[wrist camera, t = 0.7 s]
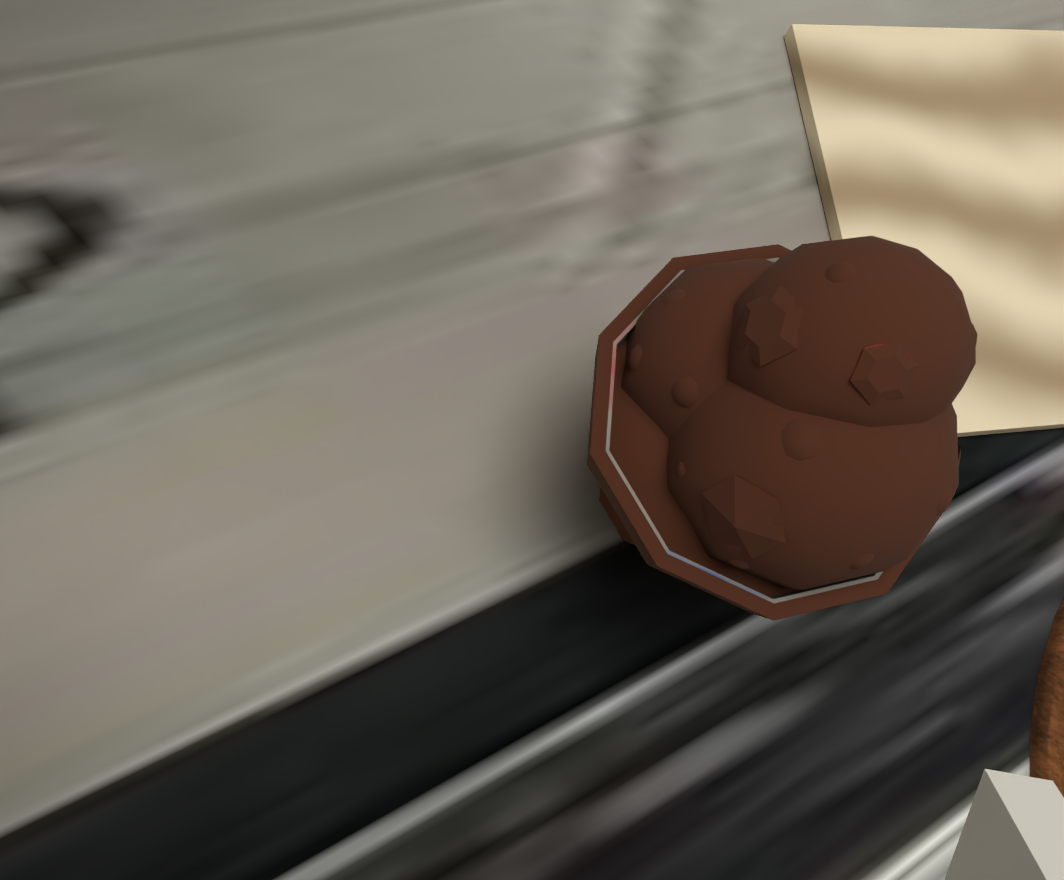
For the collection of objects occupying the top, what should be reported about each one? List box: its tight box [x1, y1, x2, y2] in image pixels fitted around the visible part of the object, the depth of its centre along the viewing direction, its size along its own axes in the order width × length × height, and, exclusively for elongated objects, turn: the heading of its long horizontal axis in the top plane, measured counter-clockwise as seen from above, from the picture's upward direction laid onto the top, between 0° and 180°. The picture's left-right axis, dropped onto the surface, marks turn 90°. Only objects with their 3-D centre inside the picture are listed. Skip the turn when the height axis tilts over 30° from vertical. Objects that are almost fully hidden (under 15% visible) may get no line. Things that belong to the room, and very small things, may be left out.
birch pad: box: [784, 24, 1064, 437], centre depth 38 cm, size 20×17×1 cm
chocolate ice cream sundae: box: [587, 236, 978, 620], centre depth 25 cm, size 11×11×15 cm
